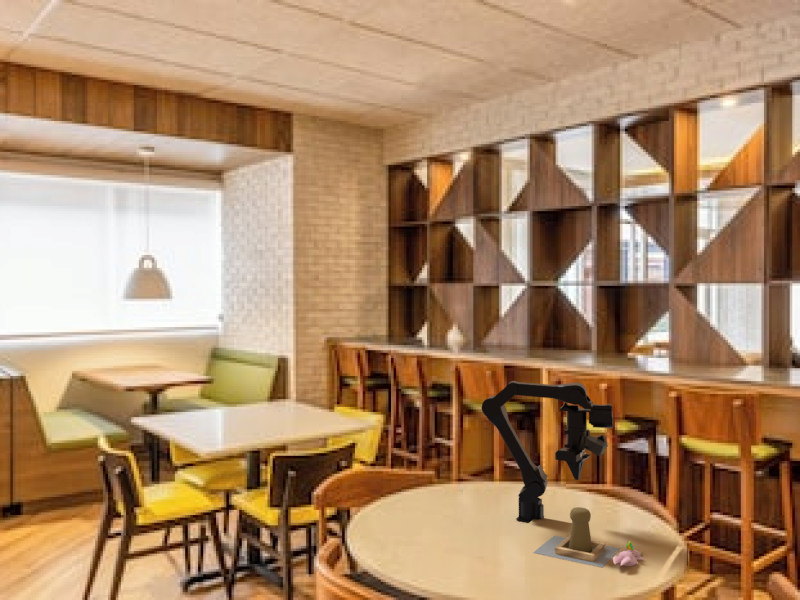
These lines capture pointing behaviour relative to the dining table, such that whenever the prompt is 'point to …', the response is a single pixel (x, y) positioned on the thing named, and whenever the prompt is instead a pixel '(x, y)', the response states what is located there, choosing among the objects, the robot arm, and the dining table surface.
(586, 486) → the dining table surface
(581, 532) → the tan tapered cylinder
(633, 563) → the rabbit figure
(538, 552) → the grey base plate
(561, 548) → the snap socket
